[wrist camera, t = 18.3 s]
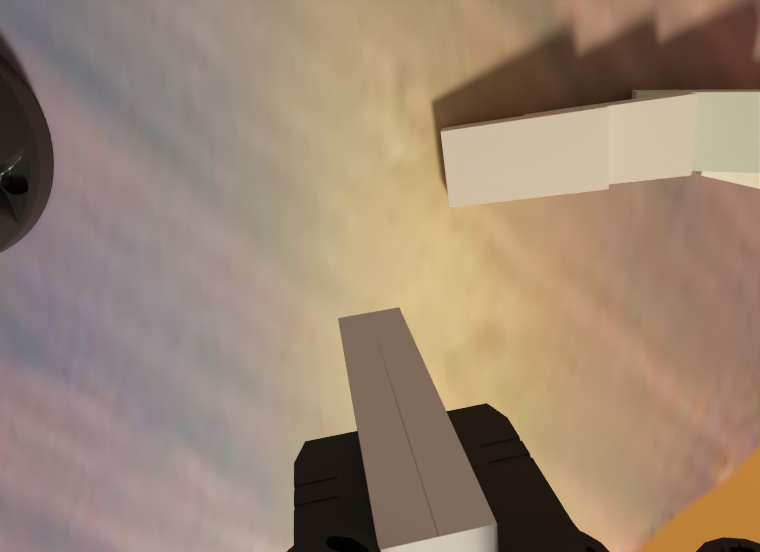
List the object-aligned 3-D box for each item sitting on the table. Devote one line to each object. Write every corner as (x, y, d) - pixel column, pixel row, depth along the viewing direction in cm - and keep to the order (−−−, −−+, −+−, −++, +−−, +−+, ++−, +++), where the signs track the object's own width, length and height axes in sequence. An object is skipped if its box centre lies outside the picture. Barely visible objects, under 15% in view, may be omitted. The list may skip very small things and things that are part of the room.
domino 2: (529, 193, 35) (691, 175, 33) (525, 117, 33) (697, 93, 31) (527, 186, 37) (681, 169, 34) (523, 114, 35) (686, 91, 33)
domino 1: (449, 207, 34) (608, 189, 32) (440, 131, 33) (608, 106, 30) (450, 200, 36) (602, 182, 34) (442, 127, 34) (601, 103, 32)
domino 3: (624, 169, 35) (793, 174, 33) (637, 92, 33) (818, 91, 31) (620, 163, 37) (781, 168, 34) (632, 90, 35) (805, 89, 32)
